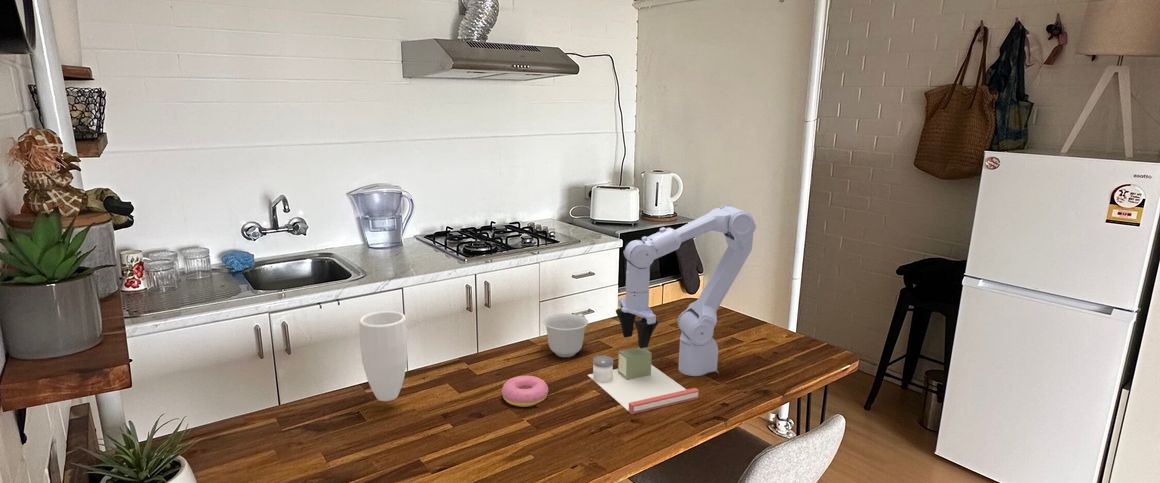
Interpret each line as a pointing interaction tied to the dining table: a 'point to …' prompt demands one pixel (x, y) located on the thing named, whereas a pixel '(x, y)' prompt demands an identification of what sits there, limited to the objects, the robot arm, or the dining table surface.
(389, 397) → the white vase
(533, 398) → the doughnut
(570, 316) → the teacup
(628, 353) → the carton
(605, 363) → the spice jar
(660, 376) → the shelf board
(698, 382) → the dining table surface
